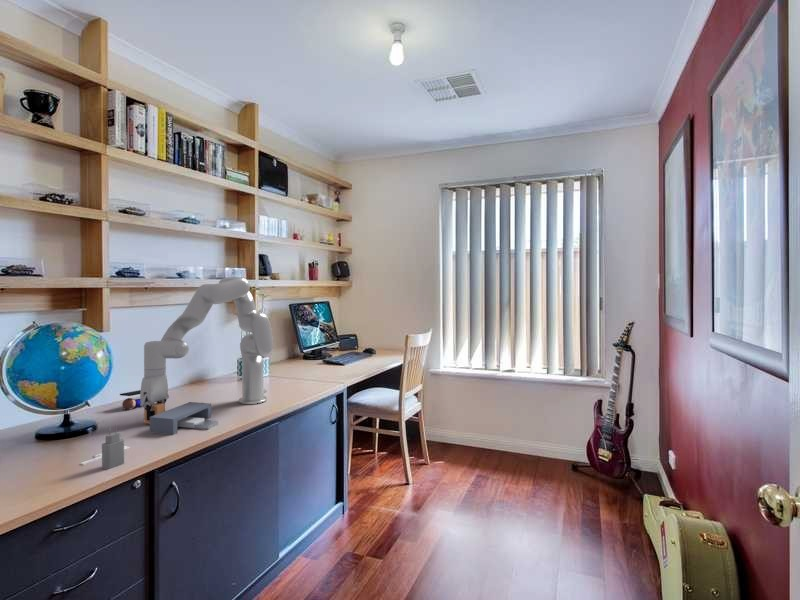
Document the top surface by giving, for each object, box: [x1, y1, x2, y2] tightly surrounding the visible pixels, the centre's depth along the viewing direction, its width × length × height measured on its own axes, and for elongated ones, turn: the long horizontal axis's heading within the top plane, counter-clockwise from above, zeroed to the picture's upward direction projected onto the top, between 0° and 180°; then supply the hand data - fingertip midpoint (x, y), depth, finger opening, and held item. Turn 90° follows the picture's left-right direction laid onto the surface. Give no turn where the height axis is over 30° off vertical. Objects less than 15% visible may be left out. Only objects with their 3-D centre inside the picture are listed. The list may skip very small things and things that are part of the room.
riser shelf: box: [149, 401, 212, 435], centre depth 174 cm, size 22×10×6 cm, turn 168°
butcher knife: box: [79, 445, 131, 466], centre depth 142 cm, size 5×15×1 cm, turn 158°
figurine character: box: [119, 389, 141, 411], centre depth 199 cm, size 7×8×15 cm
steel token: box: [193, 419, 219, 431], centre depth 171 cm, size 6×6×2 cm
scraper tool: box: [143, 402, 205, 429], centre depth 174 cm, size 6×23×7 cm, turn 78°
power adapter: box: [101, 424, 125, 470], centre depth 134 cm, size 3×5×12 cm, turn 156°
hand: (155, 418), depth 176 cm, fingers closed on scraper tool, 4 cm apart
